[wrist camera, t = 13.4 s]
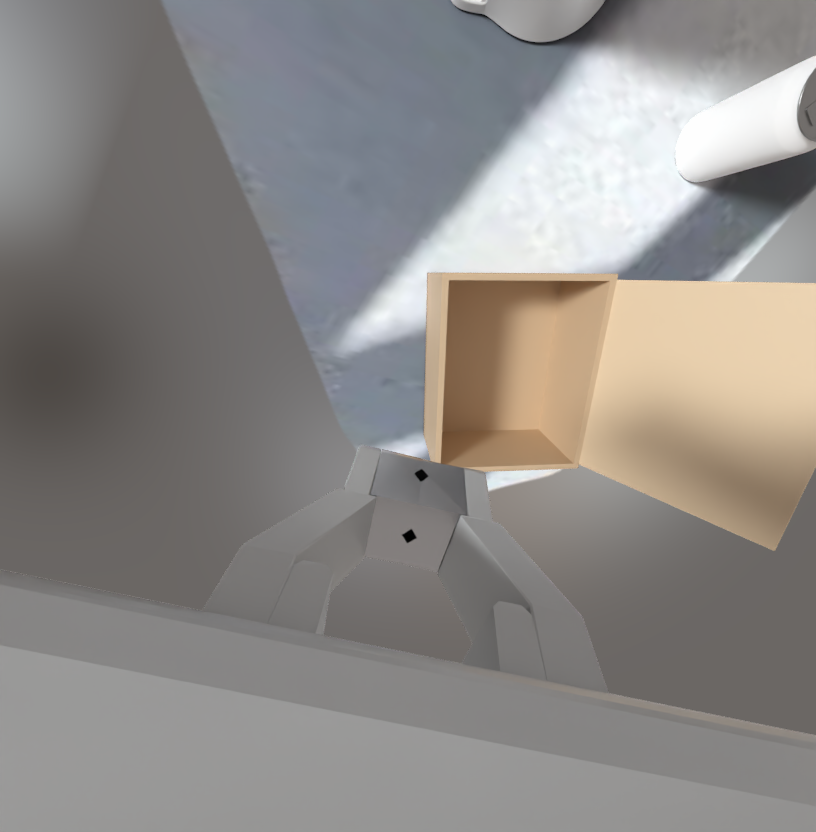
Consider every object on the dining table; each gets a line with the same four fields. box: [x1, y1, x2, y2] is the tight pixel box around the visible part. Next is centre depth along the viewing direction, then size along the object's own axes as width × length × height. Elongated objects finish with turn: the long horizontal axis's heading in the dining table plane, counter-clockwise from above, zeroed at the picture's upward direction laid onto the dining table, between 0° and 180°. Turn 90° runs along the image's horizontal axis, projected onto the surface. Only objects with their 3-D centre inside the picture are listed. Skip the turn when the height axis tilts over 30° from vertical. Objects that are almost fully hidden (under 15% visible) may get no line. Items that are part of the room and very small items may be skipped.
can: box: [675, 55, 816, 182], centre depth 32 cm, size 6×6×12 cm
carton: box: [424, 273, 618, 472], centre depth 40 cm, size 16×20×10 cm
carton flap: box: [579, 280, 816, 551], centre depth 30 cm, size 16×19×1 cm
